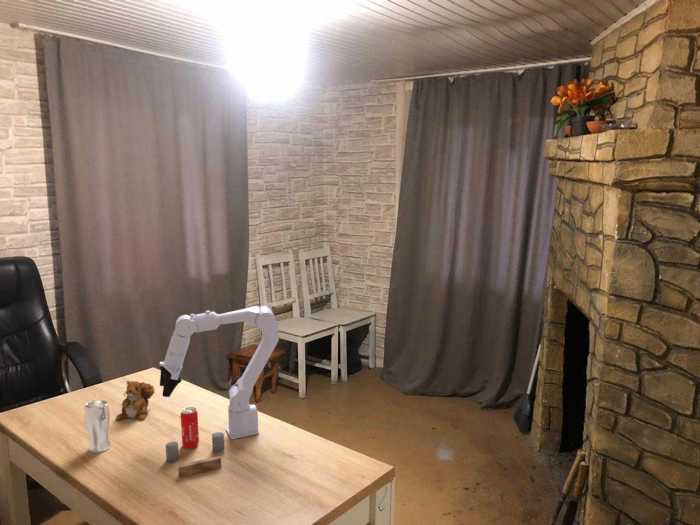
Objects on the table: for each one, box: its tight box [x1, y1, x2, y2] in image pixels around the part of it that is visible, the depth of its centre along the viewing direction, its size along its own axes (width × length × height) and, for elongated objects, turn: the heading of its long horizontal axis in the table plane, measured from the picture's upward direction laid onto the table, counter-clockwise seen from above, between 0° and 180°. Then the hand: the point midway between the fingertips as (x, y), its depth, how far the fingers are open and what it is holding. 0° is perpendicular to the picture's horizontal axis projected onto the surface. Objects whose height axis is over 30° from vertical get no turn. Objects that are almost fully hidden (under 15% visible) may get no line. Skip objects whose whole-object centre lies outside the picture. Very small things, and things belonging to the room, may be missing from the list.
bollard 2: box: [211, 431, 225, 453], centre depth 172 cm, size 4×4×5 cm
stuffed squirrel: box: [115, 380, 156, 421], centre depth 196 cm, size 10×14×13 cm
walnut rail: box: [177, 455, 222, 478], centre depth 160 cm, size 12×2×3 cm, turn 116°
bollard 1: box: [165, 441, 180, 464], centre depth 166 cm, size 4×4×5 cm
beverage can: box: [180, 406, 200, 449], centre depth 174 cm, size 5×5×12 cm
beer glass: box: [84, 399, 111, 454], centre depth 172 cm, size 7×7×15 cm
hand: (164, 391), depth 175 cm, fingers open, 7 cm apart
